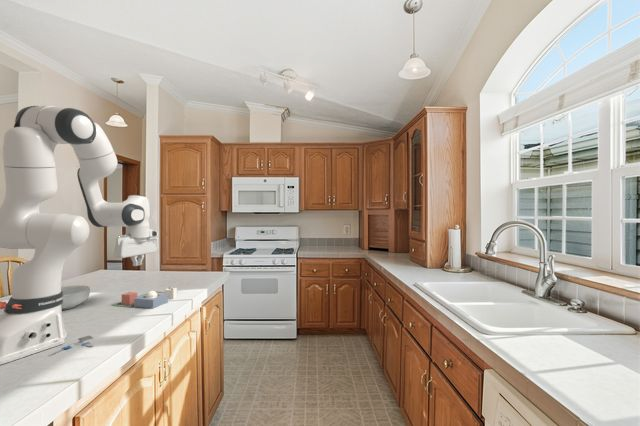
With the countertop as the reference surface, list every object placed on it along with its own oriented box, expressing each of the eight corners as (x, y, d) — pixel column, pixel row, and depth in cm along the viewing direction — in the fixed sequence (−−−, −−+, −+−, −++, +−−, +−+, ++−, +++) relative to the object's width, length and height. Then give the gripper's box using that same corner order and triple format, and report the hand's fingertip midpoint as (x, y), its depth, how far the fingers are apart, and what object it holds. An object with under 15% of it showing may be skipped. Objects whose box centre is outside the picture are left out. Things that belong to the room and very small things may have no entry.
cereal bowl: (44, 304, 129) (44, 287, 129) (93, 299, 136) (93, 283, 136) (29, 316, 114) (29, 297, 114) (84, 311, 121) (85, 293, 121)
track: (130, 307, 127) (130, 306, 127) (112, 305, 128) (112, 304, 128) (168, 293, 149) (168, 292, 149) (152, 291, 151) (152, 291, 151)
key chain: (83, 337, 98) (83, 334, 98) (110, 336, 98) (110, 334, 98) (47, 357, 84) (47, 354, 84) (78, 357, 84) (79, 354, 84)
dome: (152, 304, 128) (152, 292, 128) (143, 304, 129) (143, 291, 129) (159, 301, 133) (159, 289, 133) (150, 301, 134) (150, 289, 134)
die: (173, 298, 140) (173, 288, 140) (164, 298, 139) (164, 288, 139) (176, 296, 144) (176, 286, 144) (167, 296, 143) (168, 286, 143)
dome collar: (153, 308, 126) (153, 300, 126) (133, 306, 127) (134, 298, 127) (167, 302, 135) (167, 294, 135) (149, 300, 136) (149, 292, 136)
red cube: (129, 305, 129) (129, 295, 129) (121, 305, 130) (121, 294, 130) (136, 303, 133) (137, 292, 133) (129, 302, 134) (129, 292, 134)
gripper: (123, 235, 120) (123, 270, 120) (161, 232, 140) (160, 262, 140) (110, 234, 122) (109, 269, 122) (149, 231, 142) (148, 261, 142)
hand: (137, 265), depth 131 cm, fingers closed
